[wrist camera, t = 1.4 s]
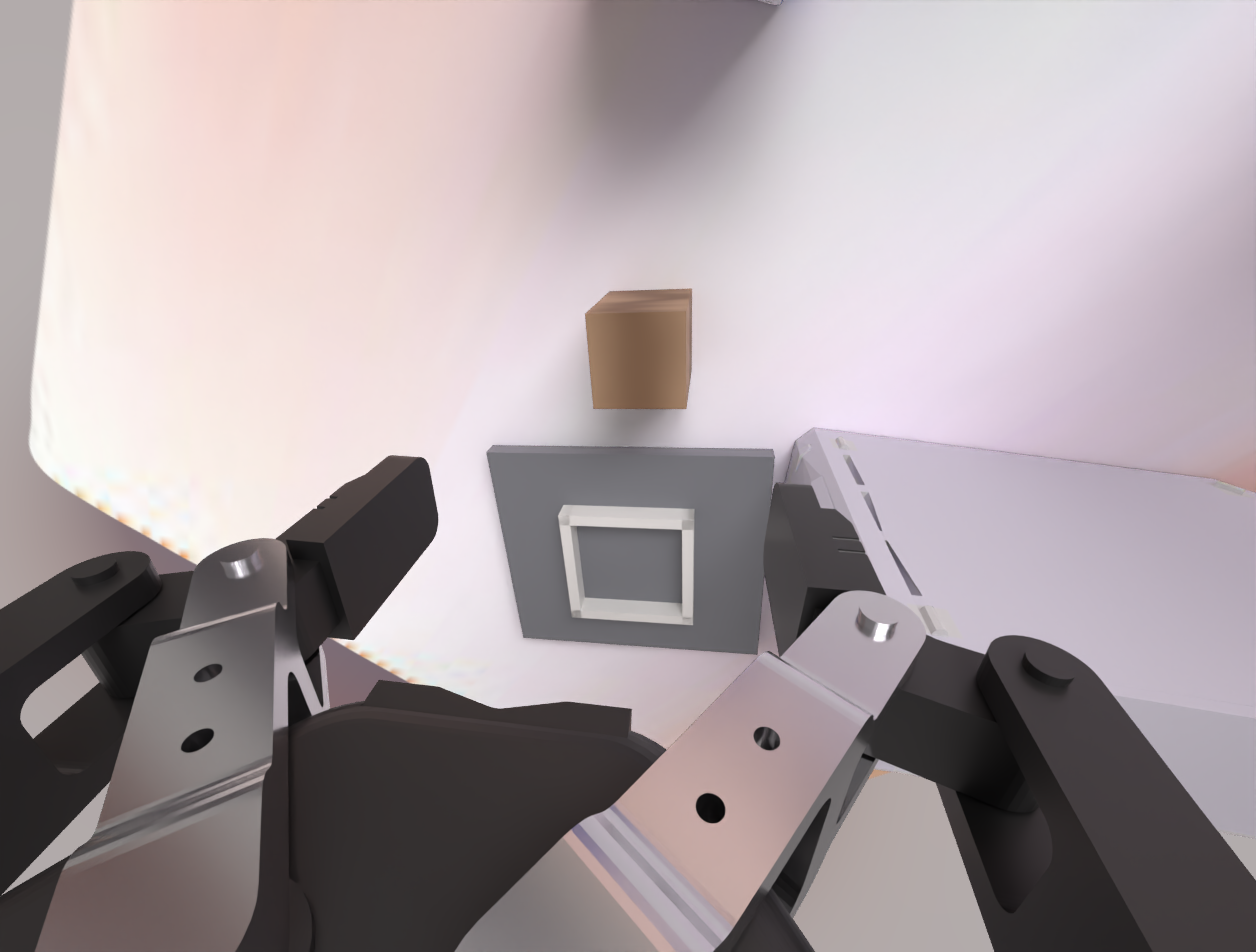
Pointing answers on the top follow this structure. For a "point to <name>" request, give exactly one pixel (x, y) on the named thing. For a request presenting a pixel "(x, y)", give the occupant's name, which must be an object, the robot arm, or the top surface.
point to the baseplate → (636, 543)
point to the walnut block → (640, 349)
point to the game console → (1074, 581)
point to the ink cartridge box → (772, 1)
